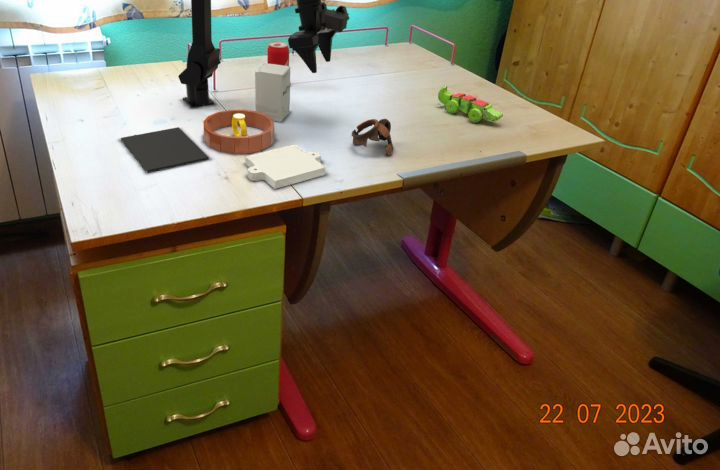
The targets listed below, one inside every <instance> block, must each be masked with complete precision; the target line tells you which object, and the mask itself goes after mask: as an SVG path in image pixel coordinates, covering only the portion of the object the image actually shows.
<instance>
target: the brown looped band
mask: <svg viewBox="0 0 720 470" xmlns="http://www.w3.org/2000/svg"><path fill="white" fill-rule="evenodd" d="M369 127H371V128H370V129H369V130H367V131H365V132H363V133H362V131H364V130H365V129H367V128H369ZM356 129H357V130H356ZM356 129H353V130H352V131H351V136H352V145H354V146H363V147H365V148H367V146H368V145H367V144H368V140H369V141H373V142H377V143H378V142H380V141H382V142H386V143H387V146H386V147H385V151H386V155H387V156H388V157H389V156H390V155H391V154H393V152H394V145H393V141H392V137H391V129H392V124H391V121H390V120H389V119H388V118H382V119H379V120H378V119H376V118H370V119H367V120H364V121H362V122H361V123H360V124H358V125H356Z"/></svg>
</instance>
